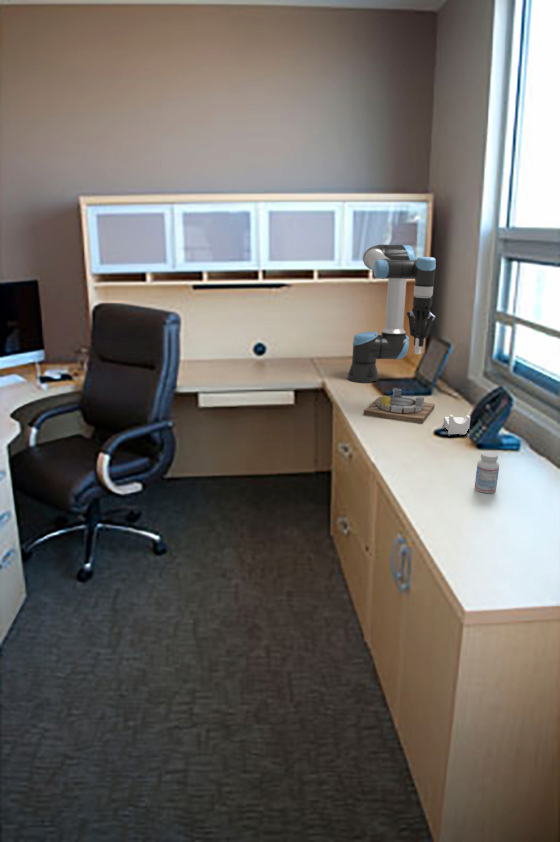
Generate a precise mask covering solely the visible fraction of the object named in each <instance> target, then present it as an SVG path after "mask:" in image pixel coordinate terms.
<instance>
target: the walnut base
mask: <svg viewBox="0 0 560 842" xmlns="http://www.w3.org/2000/svg"><path fill="white" fill-rule="evenodd" d="M380 397H381V396H378V398H380ZM378 398H376V399H375V400H374V401H373V402H372V403H370V404H369V405H368V406H367V407H366V408H364V410H363V416H368V417H372V418H374V417H375V418H378V419H379V418H380V419H387V420H394V421H401V422H402V421H403V422H409V423H417V424H424V423H425V422H426V420H427V419H428V417H429V416H430V415H431V413H432V412H433V411H434V409H435V406H436V404H435V403H433V402H425V401H424V403H425V404H424V409H423V410H422V411H419V412H416V413H415V412H414V413H403V412H402V413H397V412H391V411H386V410H383V409H380V408H379V407H378V406H377V405H376V404H377V399H378ZM390 404H391V405H396V406H412V405H413V401H412V400H409V399H405V398H392V399H391V401H390Z"/></svg>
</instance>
